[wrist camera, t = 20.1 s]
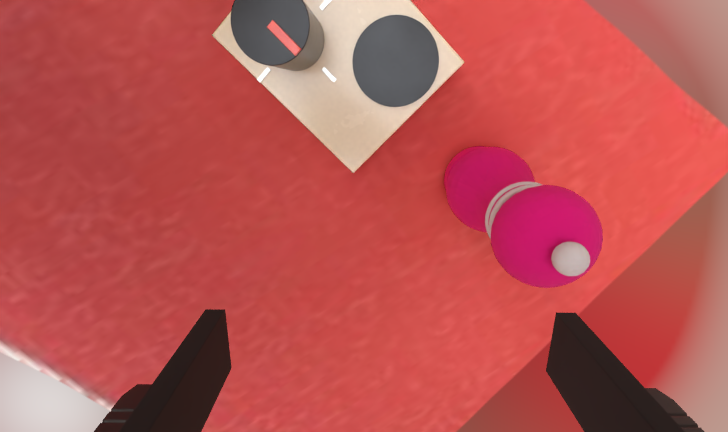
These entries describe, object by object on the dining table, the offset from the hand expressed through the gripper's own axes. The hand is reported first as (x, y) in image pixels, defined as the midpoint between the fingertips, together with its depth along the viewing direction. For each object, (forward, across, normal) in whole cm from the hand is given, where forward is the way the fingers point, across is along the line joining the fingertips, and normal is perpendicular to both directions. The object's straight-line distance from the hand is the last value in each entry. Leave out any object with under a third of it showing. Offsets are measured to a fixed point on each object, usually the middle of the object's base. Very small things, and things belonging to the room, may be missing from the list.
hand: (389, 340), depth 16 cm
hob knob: (+21, -7, +13) cm, 26 cm away
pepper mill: (+24, +10, +1) cm, 26 cm away
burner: (+21, +1, +12) cm, 24 cm away
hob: (+24, -3, +12) cm, 28 cm away
